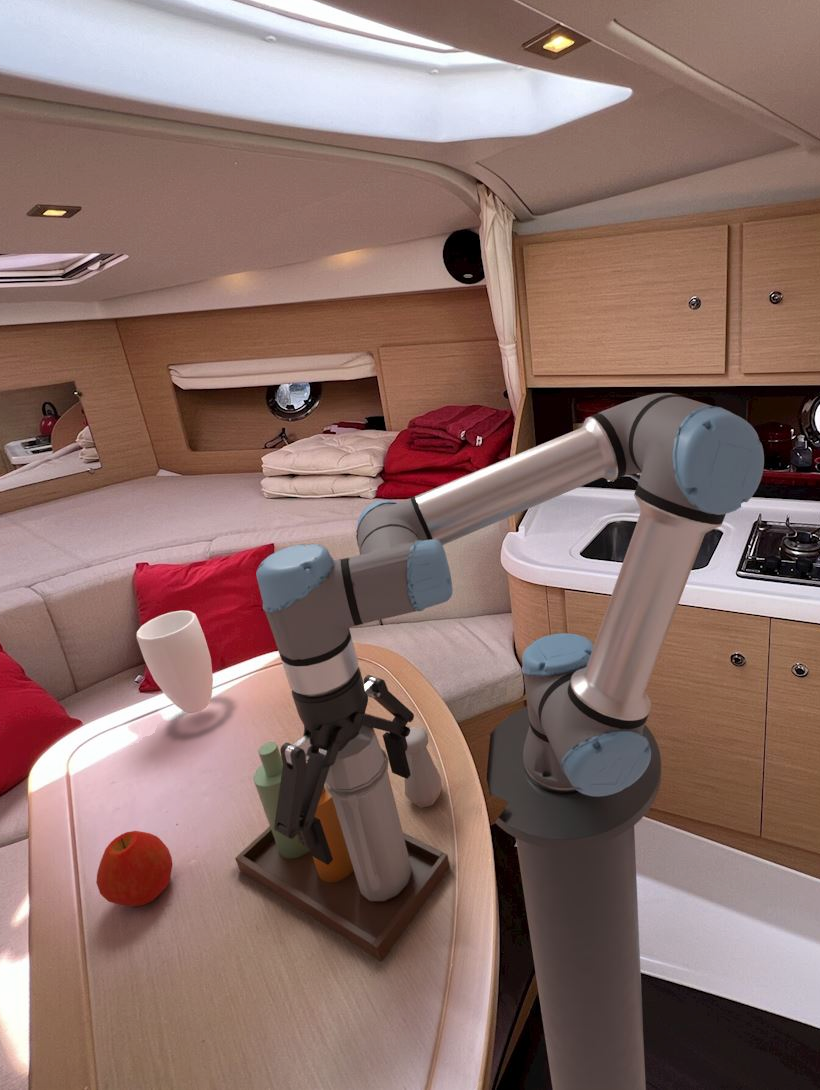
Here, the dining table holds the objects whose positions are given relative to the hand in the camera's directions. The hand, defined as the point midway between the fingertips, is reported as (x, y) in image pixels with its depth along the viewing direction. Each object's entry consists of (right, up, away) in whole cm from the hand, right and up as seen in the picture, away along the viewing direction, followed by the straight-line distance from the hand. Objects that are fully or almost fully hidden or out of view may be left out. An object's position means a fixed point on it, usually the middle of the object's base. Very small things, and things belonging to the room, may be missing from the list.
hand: (364, 813), depth 76 cm
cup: (-45, -3, +42) cm, 62 cm away
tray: (-6, -13, +9) cm, 17 cm away
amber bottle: (-7, -12, +9) cm, 17 cm away
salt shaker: (+3, -8, +20) cm, 21 cm away
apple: (-33, -15, +8) cm, 38 cm away
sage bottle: (-14, -11, +13) cm, 22 cm away
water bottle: (+1, -13, +6) cm, 14 cm away
